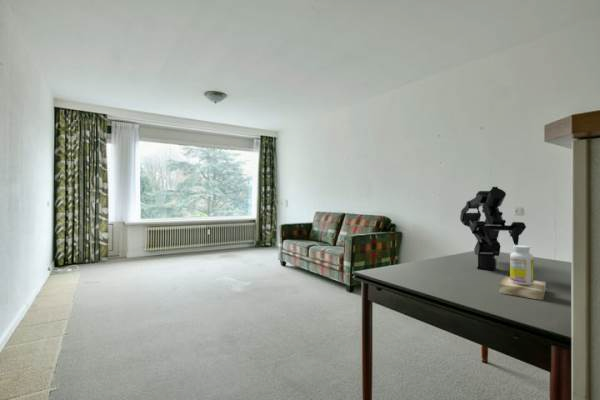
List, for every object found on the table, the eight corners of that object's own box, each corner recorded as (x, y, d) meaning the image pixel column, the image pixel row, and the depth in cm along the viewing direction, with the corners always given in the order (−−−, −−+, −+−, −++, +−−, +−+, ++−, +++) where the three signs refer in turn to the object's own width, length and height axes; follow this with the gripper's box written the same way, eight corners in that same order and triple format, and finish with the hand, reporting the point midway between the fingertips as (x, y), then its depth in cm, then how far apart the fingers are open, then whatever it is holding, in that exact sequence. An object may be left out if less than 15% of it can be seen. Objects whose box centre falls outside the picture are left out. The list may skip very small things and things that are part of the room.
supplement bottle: (524, 280, 113) (524, 244, 113) (538, 285, 107) (538, 247, 106) (505, 280, 113) (505, 244, 113) (517, 285, 107) (517, 248, 106)
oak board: (499, 292, 109) (499, 284, 109) (504, 284, 118) (504, 276, 118) (543, 300, 101) (543, 290, 101) (545, 290, 111) (545, 282, 110)
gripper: (509, 226, 139) (521, 257, 129) (463, 225, 142) (472, 255, 131) (519, 210, 131) (533, 241, 120) (471, 209, 133) (481, 240, 123)
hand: (504, 245), depth 124 cm, fingers open, 9 cm apart
